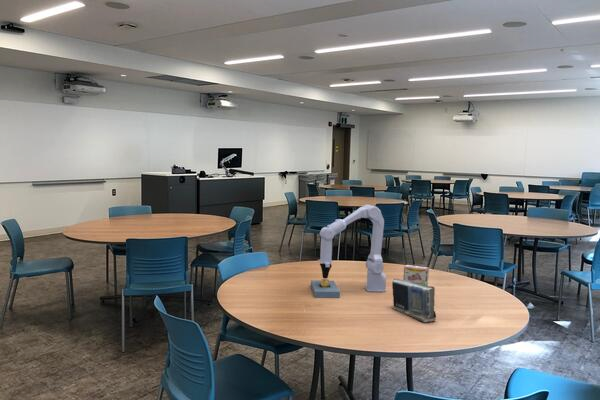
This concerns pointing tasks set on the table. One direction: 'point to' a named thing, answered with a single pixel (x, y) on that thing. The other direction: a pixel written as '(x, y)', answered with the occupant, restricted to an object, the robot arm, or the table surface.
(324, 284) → the brass cylinder
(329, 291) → the jig
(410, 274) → the candy bar box
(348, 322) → the table surface
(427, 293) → the radio
